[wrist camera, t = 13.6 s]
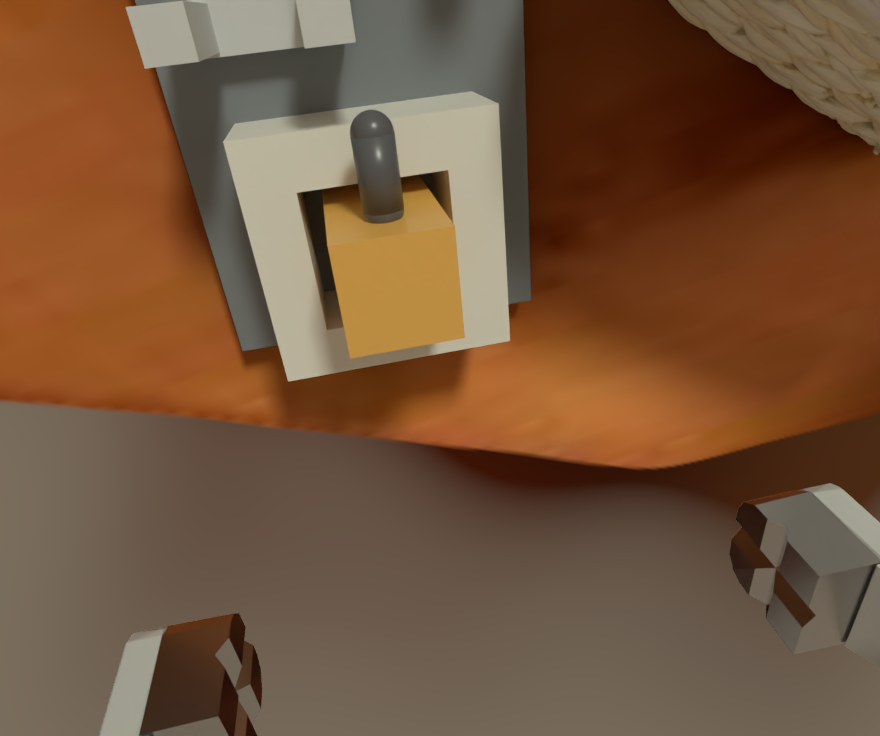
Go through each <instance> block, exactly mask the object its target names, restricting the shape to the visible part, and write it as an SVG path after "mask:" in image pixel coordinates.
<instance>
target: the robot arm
mask: <svg viewBox="0 0 880 736" xmlns="http://www.w3.org/2000/svg"><path fill="white" fill-rule="evenodd" d="M736 520H737V522H738V523H739V524H740V525H741V526H742V528H741V529H740V530H739V531H738V532H737V534H736V535H735V536H734V537H733V538H732V540H731V547H730V558H731V562H732V567H733V570H734V572H735V574H736V576H737V578H738V580H739V582H740V584H741V585H742V586H743V588H744V589H745V591H746V592H747V593H748V595H750V596H751V597H753V598H755V599H757V600H759V601H761V602H762V603H764V604H766V618H767V620H768V621H769V623H770V624H771V625H772V627H773V628H774V629H775V631H776V632H777V633H778V635H779V636H780V637H781V639H782V640H783V641H784V643H785V644H786V645H787V647H788V648H789V649H790V651H791V652H792V653H793V654H794V655H795V654H800V653H804V652H809V651H814V650H818V649H823V648H827V647H832V646H837V645H841V644H845V648H847V649H849V650H850V651H852V652H853V653H855V654H856V655H858V656H859V657H861V658H863V659H864V660H866V661H867V662H869V663H870V664H872V665H874V666H875V667H877V668H878V669H880V522H878V520H876V519H875V518H874V517H873V516H872V515H871V514H870V513H868V512H867V511H866V510H865V509H864V508H863V507H862V506H861V505H860V504H858V503H857V502H856V501H855V500H854V499H853V498H852V497H851V496H850V495H849V494H847V493H846V492H845V491H844V490H843V489H842V488H840V487H839V486H836V485H834V484H831V483H829V484H824V485H819V486H815V487H810V488H806V489H802V490H794V491H790V492H785V493H781V494H777V495H772V496H768V497H764V498H759V499H755V500H751V501H746V502H744V503H743V504H742V505H741V506H740V507H739V508H738V512H737V516H736ZM244 638H245V625H244V622H243V620H242V618H241V616H240V614H239V613H236V614H230V615H225V616H219V617H214V618H209V619H203V620H198V621H193V622H187V623H182V624H177V625H171V626H167V627H163V628H157V629H153V630H148V631H143V632H138V633H133V634H132V636H131V637H130V639H129V641H128V642H127V643H126V645H125V648H124V651H123V655H122V658H121V661H120V665H119V668H118V671H117V675H116V678H115V682H114V685H113V689H112V692H111V695H110V699H109V702H108V706H107V709H106V713H105V716H104V719H103V722H102V726H101V729H100V733H99V736H257V734H256V732H255V730H254V728H253V725H252V722H253V720H254V719H255V717H256V716H257V714H258V713H259V711H260V710H261V700H262V699H261V698H262V683H261V669H260V665H259V660H258V656H257V653H256V651H255V648H254V646H253V645H252V644H250V643H248V642H246V641H244Z"/></svg>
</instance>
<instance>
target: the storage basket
mask: <svg viewBox="0 0 880 736" xmlns="http://www.w3.org/2000/svg"><path fill="white" fill-rule="evenodd" d="M668 1H669V3H670V4H671V5H672V6H673V7H674V8H675V9H676V11H677V12H678V13H679V14H680V15H681V16H682V17H683V18H684V19H685V20H687V21H688V22H689V23H691V24H693V25H695V26H697V27H699V28H701V29H704V30H706V31H708V33H709V34H710V35H711V36H712V37H713V38H714V39H715V40H716V41H717V42H718V43H719V44H720V45H721V46H723V47H724V48H725V49H727V50H728V51H729V52H731V53H733V54H735V55H737V56H738V57H740V58H742V59H744V60H746V61H748V62H750V63H752V64H754V65H756V66H757V67H758V68H759V69H760V70H761V71H762V72H763V73H764V74H765V75H766V76H767V77H769V78H770V79H771V80H773V81H774V82H776V83H778V84H780V85H781V86H784V87H786V88H788V89H792V90H793V92H794V93H795V94H796V95H797V96H798V98H799V99H800V100H801V101H802V102H803V103H805V104H806V105H808V106H810V107H811V108H813V109H814V110H816V111H818V112H819V113H822V114H824V115H827V116H828V117H830V118H831V119H837V122H838V124H840V126H841V128H842V129H844V130H845V131H847V132H848V133H851V134H854V135H858V136H859V137H861V138H862V139H863V140H864V141H866V142H867V143H868V144H869V145H872V146H875V147H874V148H873V153H874V154H875V155H878V154H879V153H880V0H668Z"/></svg>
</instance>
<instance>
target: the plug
mask: <svg viewBox="0 0 880 736" xmlns="http://www.w3.org/2000/svg"><path fill="white" fill-rule="evenodd" d="M350 139H351V145H352V151H353V157H354V163H355V169H356V175H357V181H358V184H352V185H346V186H339V187H332V188H326V189H322V197H323V207H324V217H325V227H326V236H327V246H328V251H329V256H330V261H331V266H332V271H333V276H334V281H335V286H336V291H337V296H338V301H339V306H340V310H341V315H342V320H343V325H344V330H345V335H346V340H347V345H348V350H349V355H350V359H351V358H357V357H362V356H368V355H373V354H379V353H384V352H390V351H395V350H401V349H406V348H412V347H417V346H423V345H429V344H434V343H440V342H445V341H451V340H456V339H462V338H465V334H464V322H463V311H462V300H461V289H460V277H459V266H458V255H457V244H456V232H455V225H454V224H453V222H452V221H451V220H450V218H449V217H448V215H447V214H446V213H445V211H444V210H443V208H442V207H441V206H440V204H439V203H438V201H437V200H436V199H435V197H434V196H433V194H432V193H431V192H430V190H429V189H428V187H427V186H426V185H425V183H424V182H423V180H422V179H421V178H420V176H419V175H412V176H405V177H400V170H399V163H398V155H397V147H396V140H395V132H394V128H393V125H392V122H391V121H390V119H389V118H388V117H387V116H386V115H385V114H384V113H382V112H380V111H378V110H365V111H363V112H361V113H359V114H358V115H357V116H356V117H355V118H354V120H353V121H352V124H351V127H350Z"/></svg>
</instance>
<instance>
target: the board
mask: <svg viewBox="0 0 880 736" xmlns="http://www.w3.org/2000/svg"><path fill="white" fill-rule="evenodd" d="M135 3H136V6H132V7H126V10H127V13H128V16H129V20H130V23H131V26H132V29H133V32H134V35H135V39H136V42H137V45H138V48H139V51H140V54H141V58H142V61H143V64H144V67H145V69H146V68H154V67H155V68H156V71H157V74H158V77H159V81H160V84H161V87H162V90H163V94H164V97H165V100H166V103H167V107H168V110H169V113H170V116H171V120H172V123H173V126H174V129H175V133H176V136H177V139H178V142H179V146H180V149H181V152H182V155H183V159H184V162H185V165H186V168H187V172H188V175H189V178H190V181H191V185H192V188H193V191H194V194H195V198H196V201H197V204H198V207H199V211H200V214H201V217H202V220H203V224H204V227H205V230H206V233H207V237H208V240H209V243H210V246H211V250H212V253H213V256H214V259H215V263H216V266H217V269H218V272H219V276H220V279H221V282H222V285H223V289H224V292H225V295H226V298H227V302H228V305H229V308H230V311H231V315H232V318H233V321H234V324H235V328H236V331H237V334H238V337H239V341H240V344H241V347H242V350H243V351H248V350H253V349H259V348H265V347H270V346H276V345H278V346H279V350H280V354H281V357H282V361H283V365H284V368H285V372H286V376H287V379H288V382H289V381H295V380H300V379H306V378H311V377H316V376H322V375H327V374H333V373H338V372H343V371H349V370H354V369H360V368H365V367H371V366H376V365H381V364H387V363H392V362H398V361H403V360H408V359H414V358H419V357H425V356H430V355H436V354H441V353H446V352H452V351H457V350H463V349H468V348H474V347H479V346H484V345H490V344H495V343H501V342H506V341H510V328H509V308H508V304H513V303H518V302H524V301H529V300H531V275H530V238H529V200H528V163H527V126H526V89H525V52H524V15H523V0H135ZM365 110H378V111H380V112H382V113H384V114H385V115H386V116H387V117H388V118H389V119H390V121H391V122H392V125H393V128H394V132H395V140H396V147H397V155H398V163H399V170H400V177H405V176H412V175H419V176H420V178H421V179H422V180H423V182H424V183H425V185H426V186H427V187H428V189H429V190H430V192H431V193H432V194H433V196H434V197H435V199H436V200H437V201H438V203H439V204H440V206H441V207H442V208H443V210H444V211H445V213H446V214H447V215H448V217H449V218H450V220H451V221H452V222H453V224H454V225H455V232H456V244H457V255H458V266H459V277H460V289H461V300H462V311H463V322H464V334H465V338H462V339H456V340H451V341H445V342H440V343H434V344H429V345H423V346H417V347H412V348H406V349H401V350H395V351H390V352H384V353H379V354H373V355H368V356H362V357H357V358H351V359H350V355H349V350H348V345H347V340H346V335H345V330H344V325H343V320H342V315H341V310H340V306H339V301H338V296H337V291H336V286H335V281H334V276H333V271H332V266H331V261H330V256H329V251H328V246H327V236H326V227H325V217H324V207H323V197H322V189H326V188H332V187H339V186H346V185H352V184H358V181H357V175H356V169H355V163H354V157H353V151H352V145H351V139H350V127H351V124H352V121H353V120H354V118H355V117H356V116H357V115H358V114H359V113H361V112H363V111H365Z"/></svg>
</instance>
